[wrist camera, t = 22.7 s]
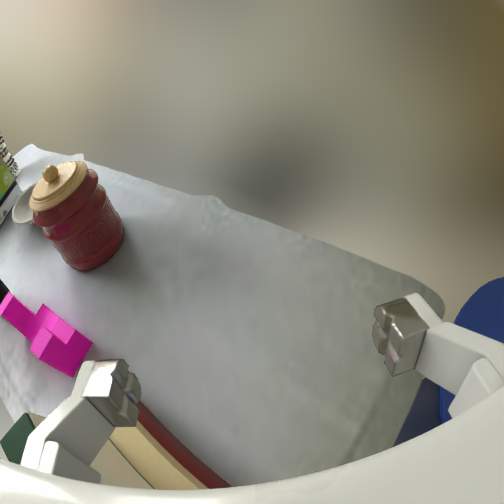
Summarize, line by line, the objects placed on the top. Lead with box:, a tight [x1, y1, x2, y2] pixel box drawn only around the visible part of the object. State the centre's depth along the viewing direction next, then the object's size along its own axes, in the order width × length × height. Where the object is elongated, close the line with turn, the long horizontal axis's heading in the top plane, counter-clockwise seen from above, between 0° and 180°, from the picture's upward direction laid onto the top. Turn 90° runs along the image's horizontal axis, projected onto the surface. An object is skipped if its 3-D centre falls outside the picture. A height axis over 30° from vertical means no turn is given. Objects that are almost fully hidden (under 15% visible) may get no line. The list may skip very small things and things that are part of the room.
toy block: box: [0, 292, 93, 377], centre depth 34 cm, size 15×6×8 cm, turn 66°
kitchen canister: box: [29, 161, 124, 270], centre depth 41 cm, size 13×13×18 cm
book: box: [0, 412, 154, 489], centre depth 15 cm, size 10×5×12 cm, turn 50°
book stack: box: [109, 401, 232, 490], centre depth 22 cm, size 18×13×6 cm
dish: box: [12, 181, 38, 224], centre depth 54 cm, size 18×14×5 cm
